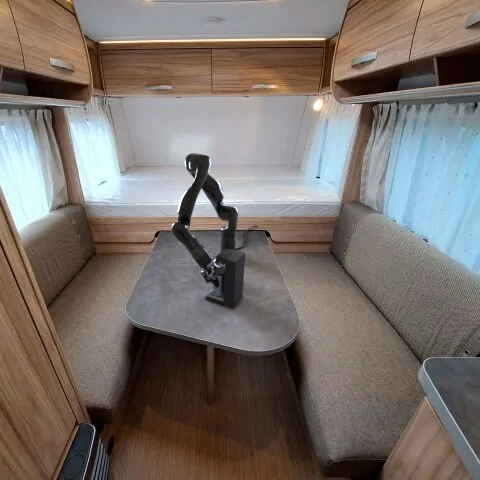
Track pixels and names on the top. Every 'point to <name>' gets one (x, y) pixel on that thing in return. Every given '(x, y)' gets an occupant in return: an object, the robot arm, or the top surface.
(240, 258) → the coffee maker
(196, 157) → the robot arm
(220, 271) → the lidded canister
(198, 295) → the top surface
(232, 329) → the top surface
